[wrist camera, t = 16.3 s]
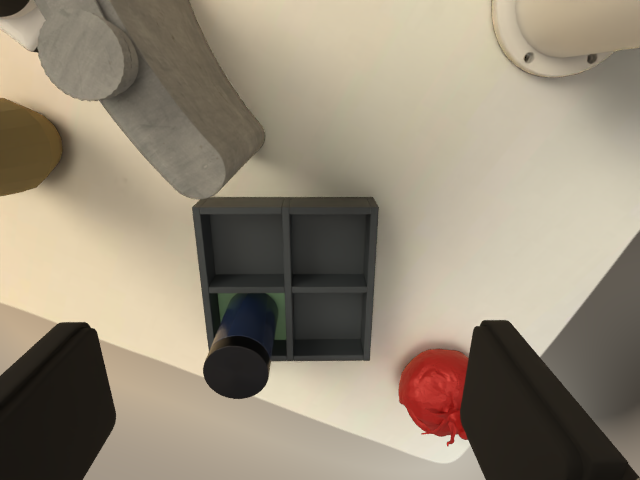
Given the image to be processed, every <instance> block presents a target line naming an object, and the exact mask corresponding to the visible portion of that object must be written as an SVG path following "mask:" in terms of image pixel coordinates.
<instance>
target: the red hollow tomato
mask: <svg viewBox="0 0 640 480" xmlns="http://www.w3.org/2000/svg"><path fill="white" fill-rule="evenodd" d="M468 359H469V358H467V357H466V356H465V355H464V354H463V353H461V352H459V351H455V350H443V349H433V350H432V349H429V350H426V351H424V352H422V353H420V354H418V355H417V356H416V357H415V358H414V359H412V360H411V362H410V363H409V364H408V365H407V366H406V367H405V369H404V370H403V372H402V374H401V378H400V382H399V402H400V403H401V404H403V405H404V406H405V407H406V408H407V411H408V413H409V415H410V416H411V418H412V420H413V421H414V422H415V424H416V425H417V426H419V427H420V428H421V429H422V430H424V431H426V433H422V434H435V435H437V436H441V437H442V436H446V435H451V440H450V441H449V442H447V446H448V445H449V444H452V443H454V437H455V434H459V436H460V437H461V438H462V439H464V440H468V438H467V436H466V433H465V431H464V429H463V426H462V423H461V419H460V408H461V402H462V396H463V390H464V384H465V378H466V371H467V365H468Z"/></svg>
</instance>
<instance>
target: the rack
mask: <svg viewBox="0 0 640 480" xmlns="http://www.w3.org/2000/svg"><path fill="white" fill-rule="evenodd" d="M378 209H379V207H378V205H377V204H376V202H375V200H374V198H373V197H209V198H206V199H201V200H199V201H198V202H197V203H196V204H195V205H194V206H193V207H192V211H193V220H194V228H195V237H196V245H197V254H198V262H199V271H200V279H201V288H202V296H203V305H204V313H205V322H206V330H207V339H208V347H209V351H210V348H211V346H212V343H213V341H214V338H215V336H216V333H217V331H218V328H219V326H220V323H221V321H222V318H223V316H224V314H225V311H226V309H227V306H228V304H229V302H230V300H231V299H232V297H233V296H235V295H236V294H237V293H266V294H268V295H269V296H270V297H271V298H273V300H274V301H275V303H276V304H277V307H278V312H279V313H278V321H277V327H276V333H275V339H274V346H273V352H272V358H271V361H293V360H294V361H362V360H363V361H370V348H371V330H372V313H373V296H374V278H375V261H376V244H377V226H378Z"/></svg>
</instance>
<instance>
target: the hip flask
mask: <svg viewBox="0 0 640 480" xmlns="http://www.w3.org/2000/svg"><path fill="white" fill-rule="evenodd" d="M34 1H35V3H36V5H37V7H38V8H39V10H40V12H41V13H42V15H43V17H44V18H45V20H46V21H45V22H44V23H43V26H42V28H41V29H40V34H39V36H38V46H37V48H38V51H39V54H38V56H39V59H40V61H41V65H42V67H43V68H44V70H45V73H46V75H47V76H48V77H49V78H50V80H51V82H52V83H54V84H55V85H56V86H57V88H58V89H60V90H62V91H63V92H64V93H65V94H67V95H70V96H71V97H73V98H77V99H80V100H82V101H83V100H87V101H93V100H94V101H98V100H99V101H100V102H101V104H102V105H103V106H104V108H105V109H106V110H107V112H108V113H109V114H110V116H111V117H112V118H113V120H114V121H115V122H116V123H117V125H118V126H119V127H120V128H121V130H122V131H123V132H124V133H125V135H126V136H127V137H128V138H129V139H130V141H131V142H132V143H133V144H134V145H135V147H136V148H137V149H138V150H139V151H140V152H141V154H142V155H143V156H144V157H145V158H146V159H147V160H148V161H149V162H150V164H151V165H152V166H153V167H154V168H155V169H156V170H157V171H158V172H159V173H160V174H161V175H162V176H163V177H164V178H165V179H166V180H167V181H168V182H169V183H170V184H171V185H172V186H173V188H174V189H175V190H177V191H178V192H179V193H180V194H182V195H184V196H186V197H189V198H192V199H206V198H209V197H211V196H213V195H215V194H216V193H217V192H218V191H219V190H220V189H221V188H222V187H223V186H224V185H225V184H226V183H227V182H228V181H229V180H230V179H231V178H232V177H233V176H234V175H235V174H236V173H237V172H238V170H239V169H240V168H241V167H242V166H243V165H244V164H245V163H246V162H247V161H248V160H249V159H250V158H251V157H252V156H253V155H254V154H255V153H256V152H257V151H258V150H259V148H260V147H261V146H262V145H263V143H264V140H265V132H264V129H263V127H262V125H261V124H260V123H259V122H258V121H257V119H256V118H255V117H254V116H253V115H252V113H251V112H250V111H249V110H248V108H247V107H246V106H245V104H244V103H243V102H242V100H241V99H240V98H239V96H238V95H237V93H236V92H235V90H234V89H233V87H232V86H231V84H230V83H229V81H228V79H227V78H226V76H225V74H224V73H223V71H222V69H221V67H220V66H219V64H218V62H217V60H216V59H215V57H214V55H213V53H212V51H211V50H210V48H209V46H208V44H207V42H206V40H205V38H204V36H203V33H202V31H201V29H200V27H199V25H198V22H197V20H196V18H195V15H194V13H193V10H192V8H191V5H190V2H189V0H34Z"/></svg>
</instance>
